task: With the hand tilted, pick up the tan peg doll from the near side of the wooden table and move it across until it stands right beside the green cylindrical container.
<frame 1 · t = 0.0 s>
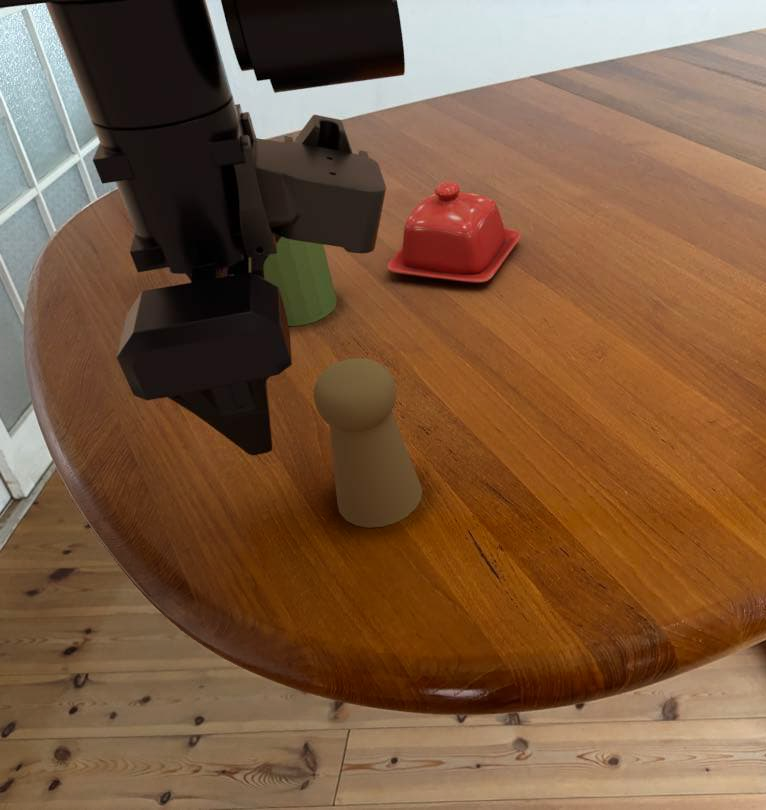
hand: (261, 398, 44), 14 cm above the table, tool pointing down, fingers open, 9 cm apart
green cylindrical container: (301, 307, 80), on the table
butter dish: (457, 262, 86), on the table
tan peg doll: (380, 498, 59), on the table
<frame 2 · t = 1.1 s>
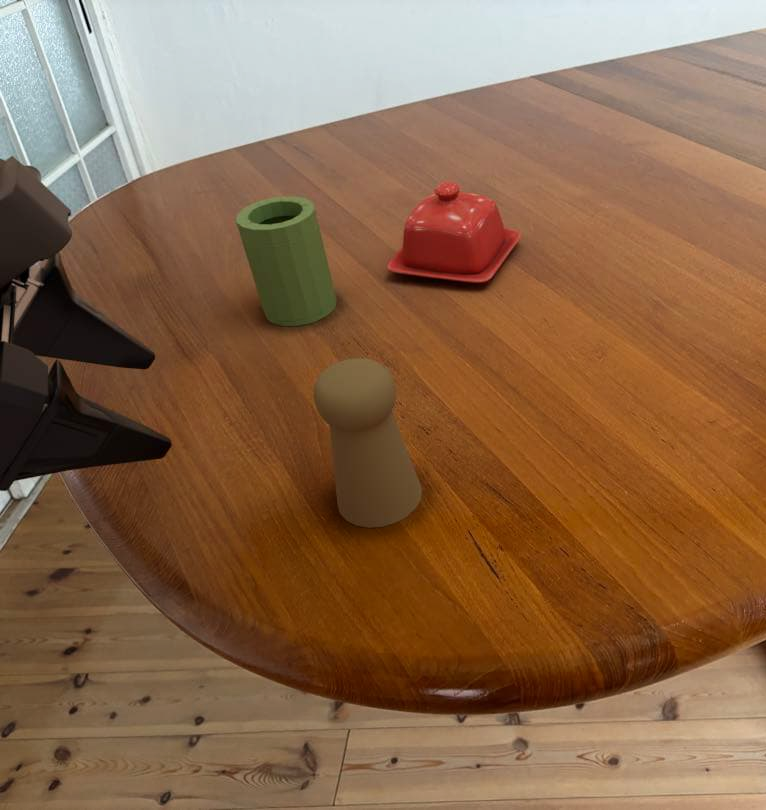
hand: (159, 402, 46), 13 cm above the table, tool tilted 45°, fingers open, 9 cm apart
nothing on the table moved.
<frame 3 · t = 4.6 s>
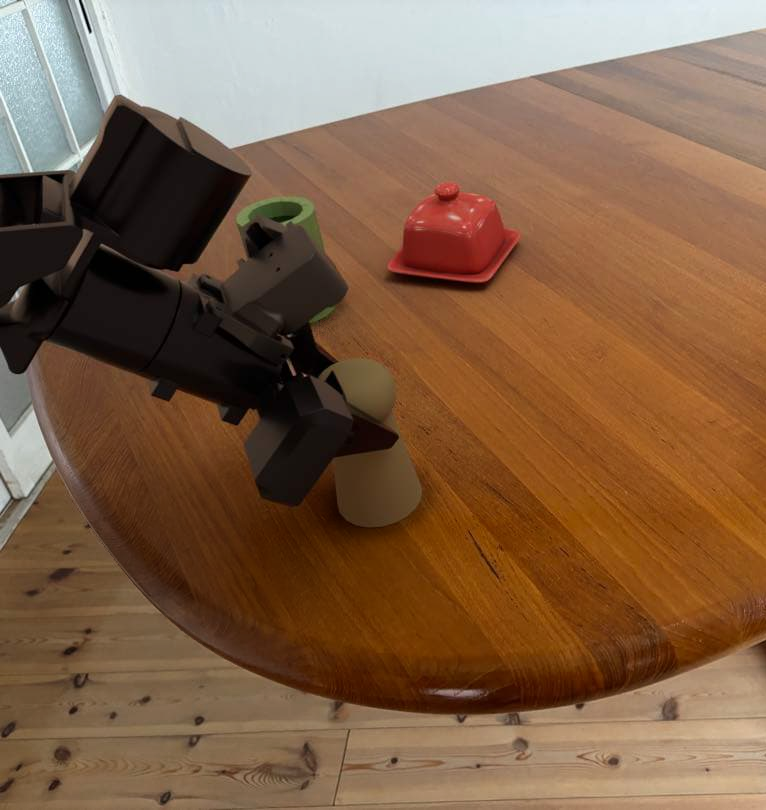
hand: (383, 419, 55), 7 cm above the table, tool tilted 45°, fingers closed on tan peg doll, 5 cm apart
tan peg doll: (380, 498, 59), on the table, touching gripper
everything else where it was.
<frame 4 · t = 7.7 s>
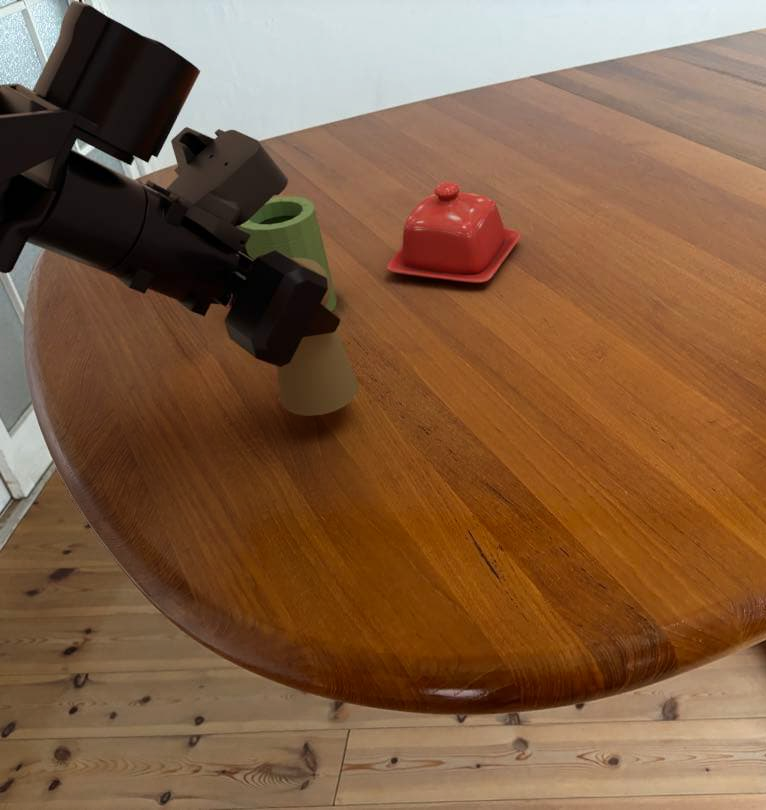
hand: (317, 313, 61), 9 cm above the table, tool tilted 45°, fingers closed on tan peg doll, 5 cm apart
tan peg doll: (320, 394, 65), point 2 cm above the table, touching gripper
everything else where it was.
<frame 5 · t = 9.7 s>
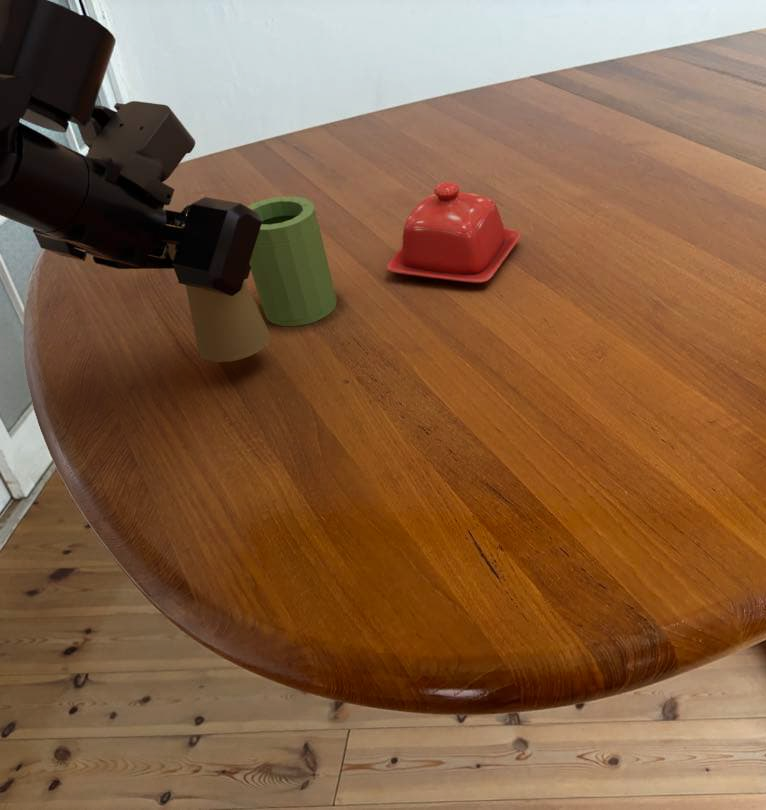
hand: (224, 267, 68), 9 cm above the table, tool tilted 45°, fingers closed on tan peg doll, 5 cm apart
tan peg doll: (235, 344, 71), point 2 cm above the table, touching gripper
everything else where it was.
when the fingers open (7 cm above the table, at t = 11.1 s): tan peg doll stays where it is, on the table.
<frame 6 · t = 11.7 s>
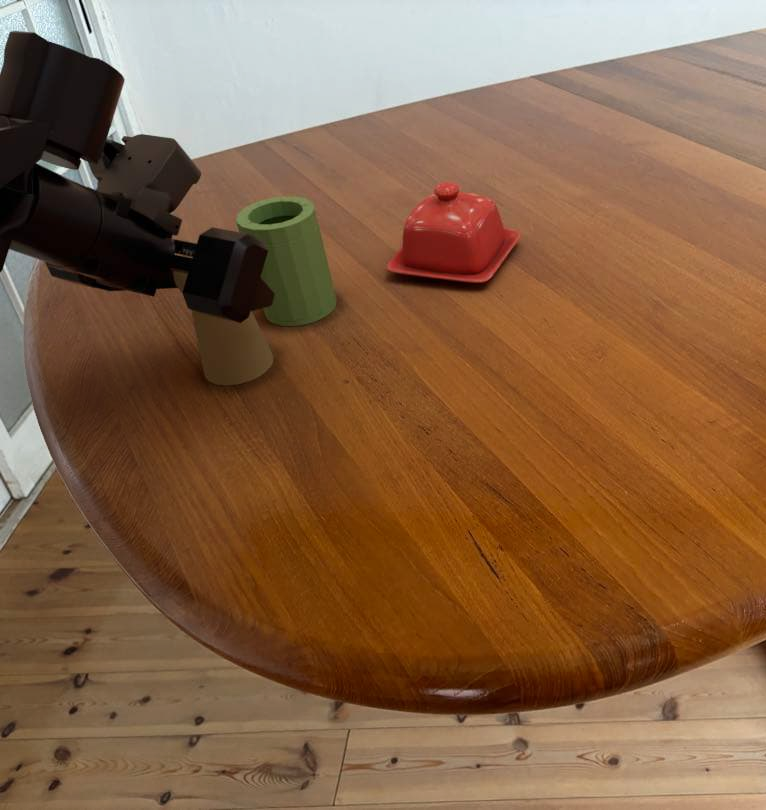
hand: (229, 290, 70), 7 cm above the table, tool tilted 45°, fingers open, 9 cm apart
tan peg doll: (239, 367, 73), on the table
everything else where it was.
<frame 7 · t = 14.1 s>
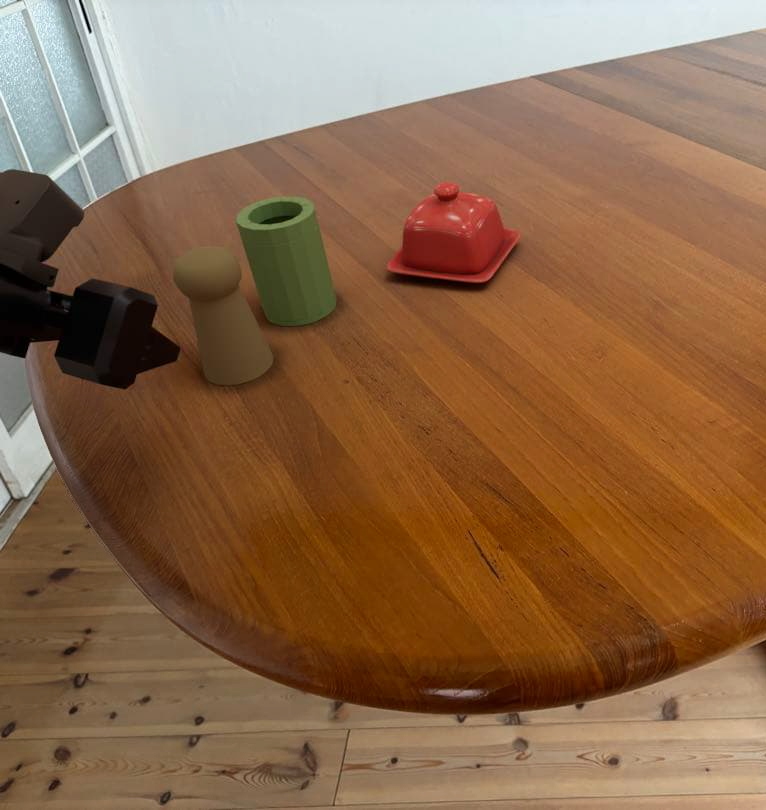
hand: (131, 341, 61), 8 cm above the table, tool tilted 45°, fingers open, 9 cm apart
nothing on the table moved.
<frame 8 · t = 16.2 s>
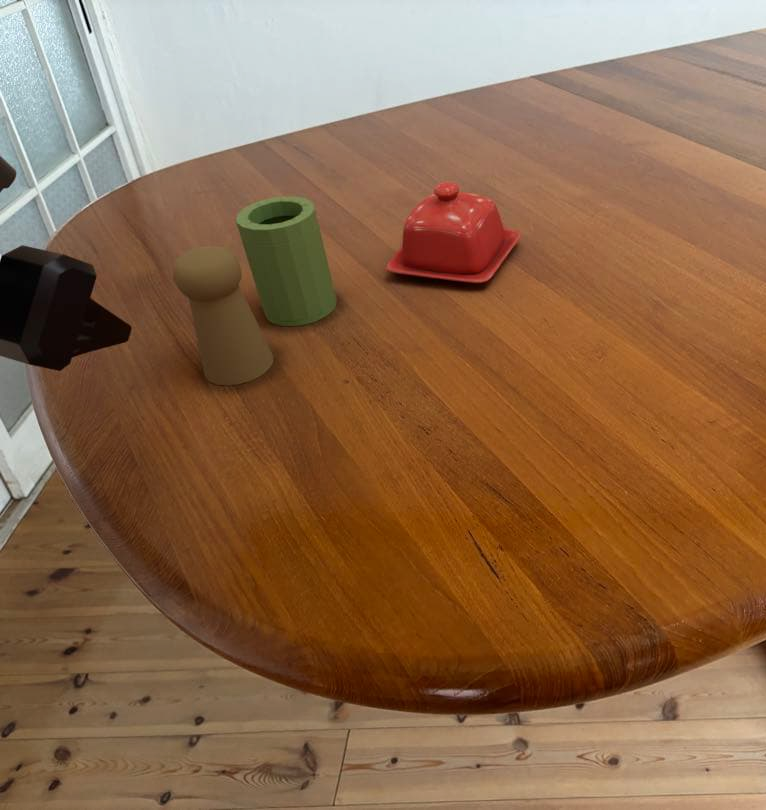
hand: (79, 320, 55), 13 cm above the table, tool tilted 45°, fingers open, 9 cm apart
nothing on the table moved.
at the end: tan peg doll 10.1 cm from the green cylindrical container (horizontally); tan peg doll tilted 0°; the gripper is holding nothing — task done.
